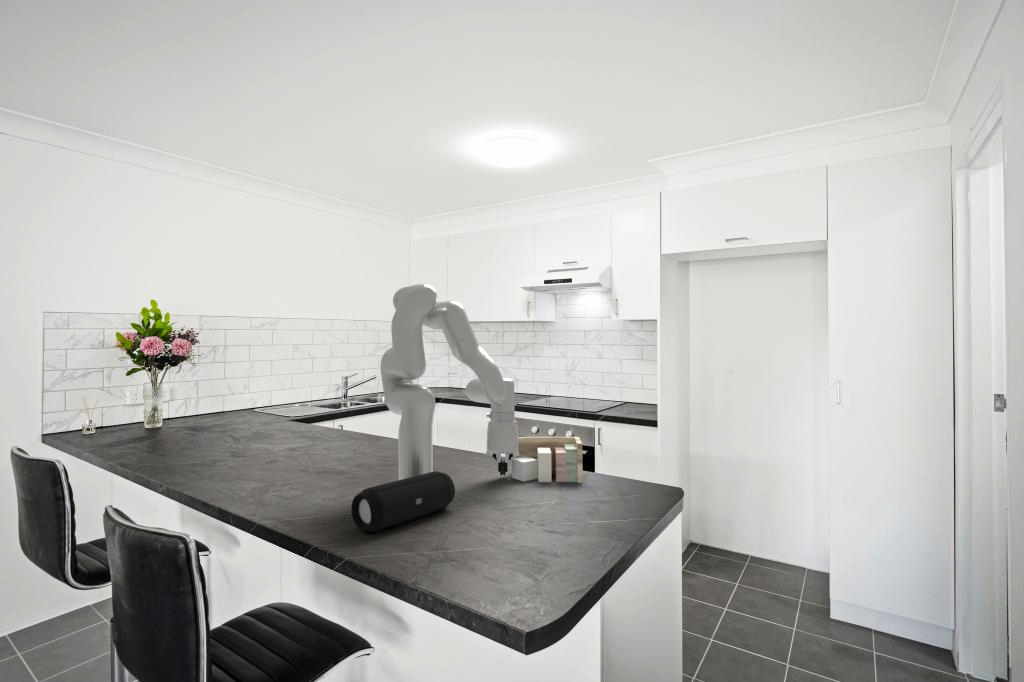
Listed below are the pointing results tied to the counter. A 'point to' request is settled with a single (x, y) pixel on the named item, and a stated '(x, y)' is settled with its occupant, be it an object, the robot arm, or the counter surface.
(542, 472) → the white block
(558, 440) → the wide wooden block
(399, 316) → the robot arm
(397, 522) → the portable speaker
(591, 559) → the counter surface
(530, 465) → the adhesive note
